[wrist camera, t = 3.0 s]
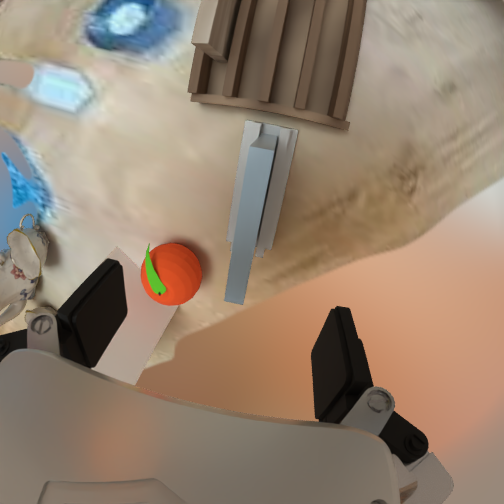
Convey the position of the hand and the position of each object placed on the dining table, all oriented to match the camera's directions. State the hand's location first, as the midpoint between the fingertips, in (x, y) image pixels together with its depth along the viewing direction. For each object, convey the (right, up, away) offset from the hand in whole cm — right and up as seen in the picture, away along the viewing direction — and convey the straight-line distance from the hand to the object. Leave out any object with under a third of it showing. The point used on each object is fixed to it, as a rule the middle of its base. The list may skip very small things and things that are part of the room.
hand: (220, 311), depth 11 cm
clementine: (-7, +2, +21) cm, 22 cm away
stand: (+2, +9, +16) cm, 18 cm away
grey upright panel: (+2, +9, +15) cm, 18 cm away
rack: (+5, +23, +8) cm, 25 cm away
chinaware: (-38, -1, +27) cm, 47 cm away
